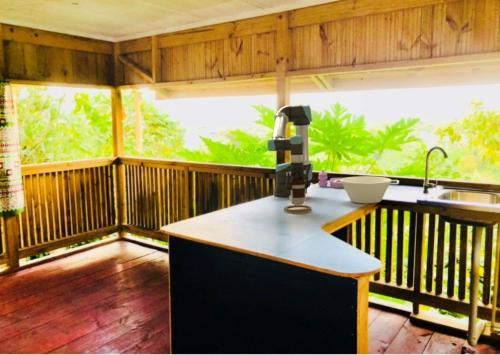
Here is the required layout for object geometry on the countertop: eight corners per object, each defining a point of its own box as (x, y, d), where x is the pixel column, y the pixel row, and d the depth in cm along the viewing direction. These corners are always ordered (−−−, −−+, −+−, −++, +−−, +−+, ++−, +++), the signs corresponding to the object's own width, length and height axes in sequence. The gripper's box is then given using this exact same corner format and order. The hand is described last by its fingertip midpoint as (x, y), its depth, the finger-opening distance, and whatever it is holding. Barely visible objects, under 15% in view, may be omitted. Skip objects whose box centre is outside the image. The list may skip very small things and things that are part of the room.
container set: (351, 185, 324) (351, 169, 323) (347, 188, 311) (347, 171, 309) (320, 185, 334) (320, 169, 333) (316, 187, 320) (316, 171, 319)
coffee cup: (305, 205, 232) (305, 179, 231) (288, 205, 234) (287, 180, 233) (306, 202, 242) (306, 177, 240) (290, 202, 244) (289, 177, 242)
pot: (329, 204, 252) (329, 182, 251) (338, 195, 282) (338, 175, 280) (397, 207, 237) (397, 183, 236) (399, 197, 267) (399, 176, 265)
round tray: (279, 209, 244) (279, 206, 243) (303, 206, 249) (303, 203, 249) (291, 214, 228) (291, 211, 228) (316, 211, 234) (316, 208, 234)
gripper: (283, 163, 228) (284, 202, 231) (315, 161, 235) (316, 199, 238) (277, 162, 235) (278, 200, 238) (309, 160, 242) (310, 197, 245)
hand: (297, 199), depth 238 cm, fingers closed on coffee cup, 8 cm apart
